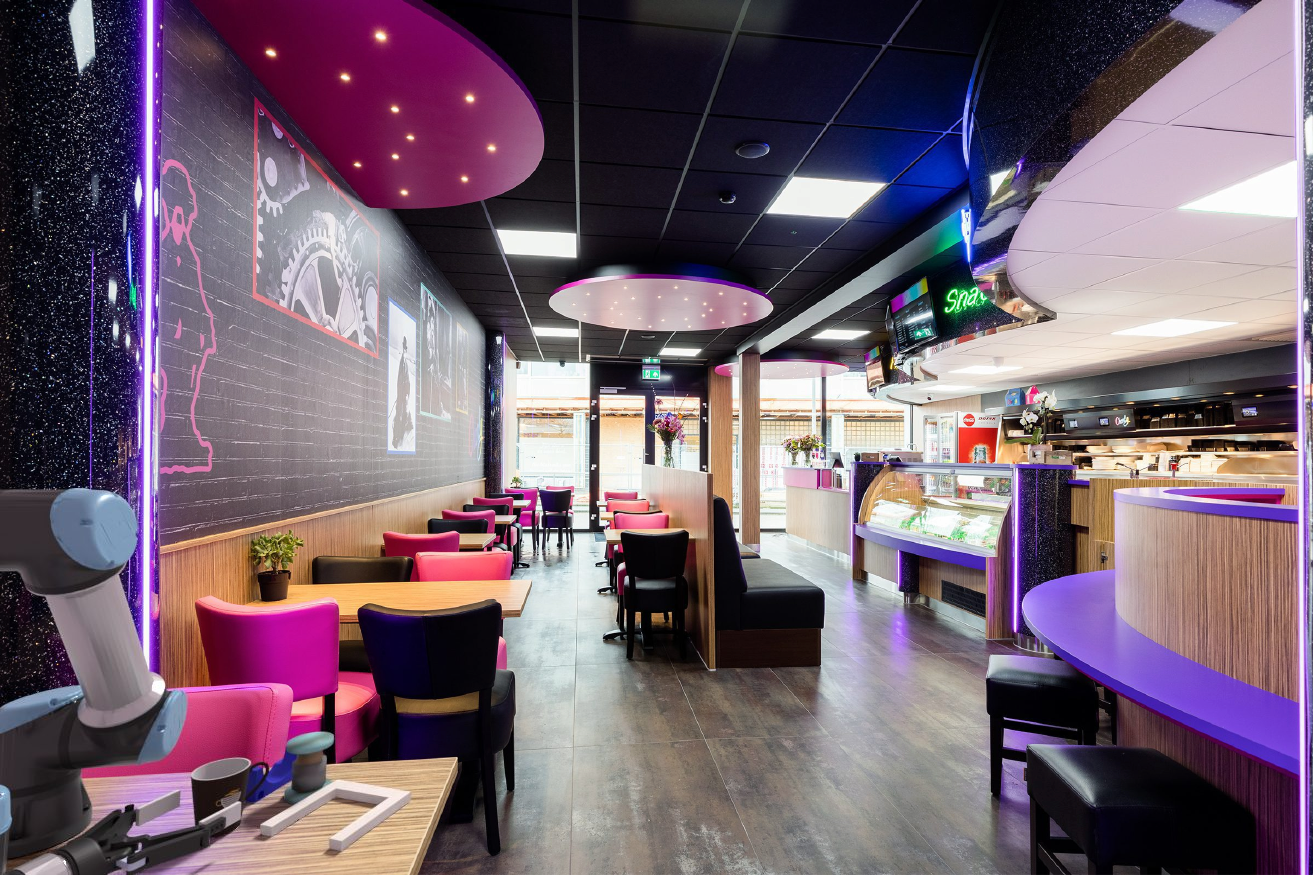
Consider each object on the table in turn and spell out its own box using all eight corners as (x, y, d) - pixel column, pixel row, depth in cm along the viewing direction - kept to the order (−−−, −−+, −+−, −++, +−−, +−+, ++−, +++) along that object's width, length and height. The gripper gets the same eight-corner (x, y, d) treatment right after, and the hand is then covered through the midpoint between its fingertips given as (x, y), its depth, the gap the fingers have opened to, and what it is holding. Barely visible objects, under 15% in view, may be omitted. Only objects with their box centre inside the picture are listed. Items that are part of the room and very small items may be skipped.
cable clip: (283, 772, 130) (284, 742, 130) (302, 774, 129) (303, 744, 130) (234, 801, 118) (236, 768, 119) (255, 803, 117) (256, 770, 118)
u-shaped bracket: (260, 834, 107) (260, 824, 107) (337, 787, 123) (337, 779, 123) (341, 850, 102) (341, 840, 102) (410, 800, 118) (411, 791, 118)
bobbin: (274, 800, 118) (276, 745, 119) (308, 781, 126) (310, 729, 127) (308, 806, 116) (310, 750, 117) (341, 786, 124) (343, 734, 124)
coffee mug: (185, 848, 103) (189, 784, 103) (189, 824, 110) (192, 765, 111) (269, 826, 109) (271, 767, 110) (267, 805, 116) (269, 749, 117)
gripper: (-6, 891, 89) (153, 815, 109) (119, 928, 81) (264, 839, 102) (-2, 835, 89) (155, 770, 109) (122, 867, 82) (267, 791, 102)
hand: (208, 803), depth 105 cm, fingers open, 13 cm apart
